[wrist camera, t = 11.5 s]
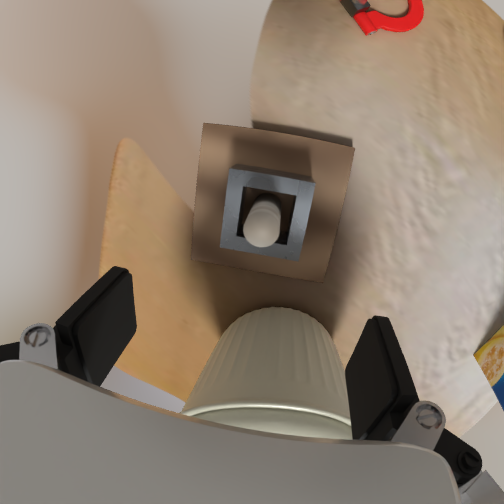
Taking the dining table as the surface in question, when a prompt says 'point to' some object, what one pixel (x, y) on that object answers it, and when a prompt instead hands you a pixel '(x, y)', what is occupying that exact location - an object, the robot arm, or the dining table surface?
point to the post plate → (278, 159)
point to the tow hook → (383, 17)
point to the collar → (269, 180)
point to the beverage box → (493, 363)
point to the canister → (274, 378)
